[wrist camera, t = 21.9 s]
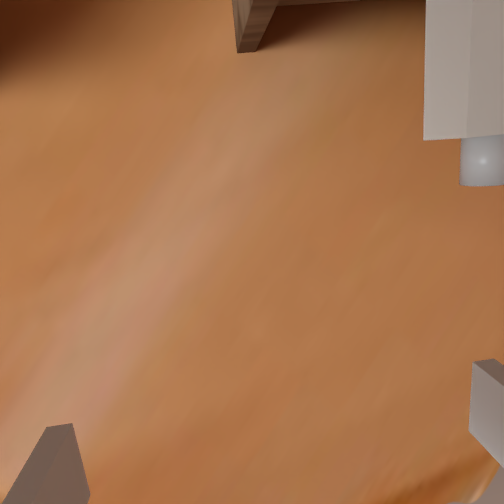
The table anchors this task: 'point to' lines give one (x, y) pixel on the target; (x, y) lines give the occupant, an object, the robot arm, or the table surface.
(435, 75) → the bar
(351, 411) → the table surface
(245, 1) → the walnut shelf
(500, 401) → the robot arm
